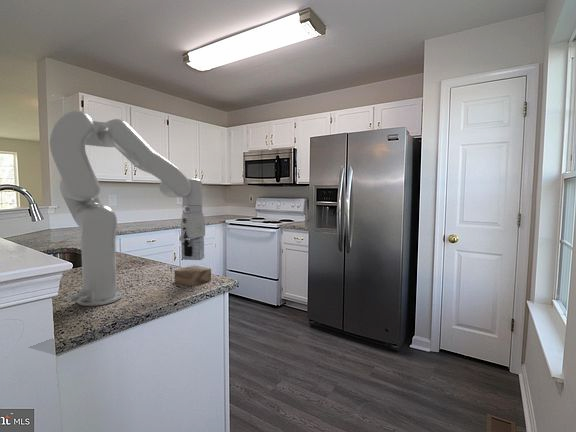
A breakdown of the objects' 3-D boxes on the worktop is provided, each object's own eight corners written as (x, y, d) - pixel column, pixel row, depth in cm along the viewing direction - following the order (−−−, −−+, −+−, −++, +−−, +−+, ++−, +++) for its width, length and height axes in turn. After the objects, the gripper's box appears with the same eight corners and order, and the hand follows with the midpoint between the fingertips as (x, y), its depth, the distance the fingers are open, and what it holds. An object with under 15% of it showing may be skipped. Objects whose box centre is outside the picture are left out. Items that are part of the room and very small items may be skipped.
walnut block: (191, 286, 119) (191, 273, 118) (174, 282, 124) (174, 270, 124) (211, 280, 127) (211, 268, 127) (194, 276, 132) (194, 265, 132)
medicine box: (204, 258, 127) (204, 237, 126) (200, 260, 122) (200, 238, 122) (186, 257, 128) (185, 236, 127) (181, 260, 123) (180, 238, 123)
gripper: (186, 211, 114) (187, 259, 116) (212, 209, 130) (213, 251, 132) (169, 210, 117) (170, 258, 118) (197, 208, 133) (198, 250, 134)
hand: (193, 254), depth 125 cm, fingers closed on medicine box, 5 cm apart
